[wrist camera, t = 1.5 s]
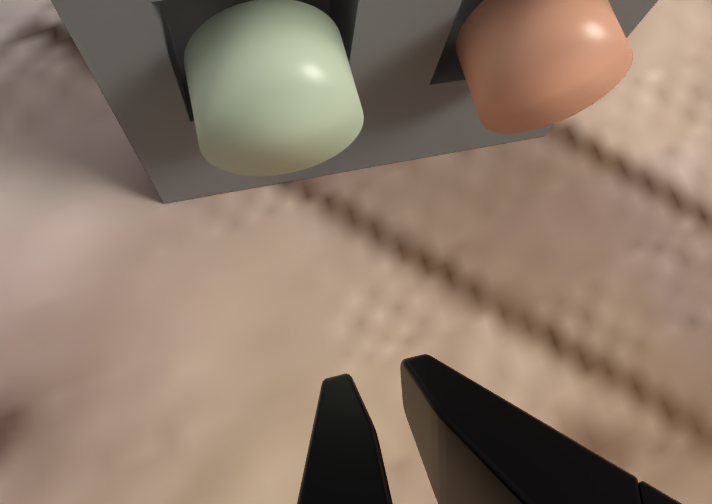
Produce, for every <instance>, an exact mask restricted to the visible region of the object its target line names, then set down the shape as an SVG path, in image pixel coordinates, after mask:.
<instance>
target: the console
mask: <svg viewBox="0 0 712 504" xmlns="http://www.w3.org/2000/svg"><path fill="white" fill-rule="evenodd" d="M51 1H52V3H53V5H54V7H55V9H56V10H57V12H58V14H59V16H60V18H61V19H62V21H63V23H64V25H65V27H66V28H67V30H68V32H69V34H70V36H71V37H72V39H73V41H74V43H75V44H76V46H77V48H78V50H79V52H80V53H81V55H82V57H83V59H84V61H85V62H86V64H87V66H88V68H89V70H90V71H91V73H92V75H93V77H94V79H95V80H96V82H97V84H98V86H99V88H100V89H101V91H102V93H103V95H104V97H105V98H106V100H107V102H108V104H109V106H110V107H111V109H112V111H113V113H114V115H115V116H116V118H117V120H118V122H119V124H120V125H121V127H122V129H123V131H124V133H125V134H126V136H127V138H128V140H129V142H130V143H131V145H132V147H133V149H134V150H135V152H136V154H137V156H138V158H139V159H140V161H141V163H142V165H143V167H144V168H145V170H146V172H147V174H148V176H149V177H150V179H151V181H152V183H153V185H154V186H155V188H156V190H157V192H158V194H159V195H160V197H161V199H162V201H163V203H164V204H166V203H171V202H177V201H183V200H188V199H194V198H199V197H205V196H211V195H216V194H222V193H228V192H233V191H239V190H244V189H250V188H256V187H261V186H267V185H273V184H278V183H284V182H289V181H295V180H301V179H306V178H312V177H318V176H323V175H329V174H334V173H340V172H346V171H351V170H357V169H363V168H368V167H374V166H379V165H385V164H391V163H396V162H402V161H408V160H413V159H419V158H424V157H430V156H436V155H441V154H447V153H453V152H458V151H464V150H469V149H475V148H481V147H486V146H492V145H498V144H503V143H509V142H514V141H520V140H526V139H531V138H537V137H543V136H545V135H546V134H547V132H548V131H549V130H550V129H551V128H552V126H553V125H554V124H555V123H554V124H552V125H549V126H546V127H543V128H540V129H536V130H532V131H527V132H522V133H513V134H502V133H495V132H492V131H490V130H488V129H486V128H485V127H484V126H483V125H482V123H481V120H480V117H479V115H478V112H477V109H476V106H475V104H474V101H473V98H472V95H471V92H470V90H469V87H468V84H467V81H466V79H465V76H464V73H463V70H462V68H461V65H460V62H459V59H458V56H457V53H456V39H457V36H458V33H459V31H460V29H461V27H462V25H463V23H464V22H465V20H466V19H467V17H468V16H469V15H470V14H471V12H472V11H473V10H474V9H475V8H476V7H477V6H478V5H479V4H480V3H481V2H482V1H483V0H295V1H299V2H303V3H306V4H309V5H311V6H314V7H316V8H318V9H319V10H321V11H323V12H324V13H325V14H327V15H328V16H329V17H330V18H331V19H332V20H333V21H334V22H335V24H336V26H337V27H338V29H339V32H340V34H341V38H342V41H343V45H344V48H345V51H346V55H347V58H348V62H349V65H350V69H351V72H352V76H353V79H354V82H355V86H356V89H357V93H358V96H359V100H360V103H361V107H362V110H363V115H364V121H363V126H362V129H361V131H360V133H359V134H358V136H357V137H356V138H355V140H354V141H353V142H352V143H351V144H350V145H349V146H348V147H347V148H345V149H344V150H343V151H342V152H340V153H339V154H337V155H336V156H334V157H332V158H330V159H329V160H327V161H324V162H322V163H320V164H318V165H315V166H313V167H310V168H307V169H304V170H300V171H297V172H292V173H288V174H282V175H274V176H245V175H238V174H233V173H229V172H226V171H223V170H221V169H218V168H216V167H215V166H213V165H211V164H210V163H209V162H208V161H207V160H206V159H205V158H204V157H203V156H202V154H201V151H200V148H199V143H198V137H197V132H196V127H195V121H194V116H193V110H192V105H191V100H190V94H189V89H188V83H187V78H186V73H185V67H184V53H185V48H186V46H187V44H188V41H189V39H190V38H191V36H192V35H193V33H194V32H195V31H196V30H197V29H198V28H199V27H200V26H201V25H202V24H203V23H204V22H205V21H206V20H208V19H209V18H211V17H212V16H214V15H215V14H217V13H219V12H221V11H223V10H225V9H227V8H229V7H232V6H234V5H237V4H241V3H244V2H248V1H253V0H51ZM608 1H609V3H610V5H611V7H612V10H613V12H614V14H615V16H616V18H617V20H618V22H619V24H620V26H621V29H622V31H623V33H624V35H625V37H626V38H627V37H628V36H629V34H630V33H631V32H632V31H633V30H634V28H635V27H636V26H637V25H638V24H639V22H640V21H641V20H642V19H643V18H644V17H645V15H646V14H647V13H648V12H649V11H650V9H651V8H652V7H653V6H654V5H655V3H656V2H657V1H658V0H608Z"/></svg>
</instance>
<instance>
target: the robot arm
mask: <svg viewBox="0 0 712 504" xmlns="http://www.w3.org/2000/svg"><path fill="white" fill-rule="evenodd" d="M400 370H401V384H402V397H403V405H404V410H405V414H406V417H407V420H408V423H409V425H410V428H411V431H412V434H413V436H414V439H415V442H416V445H417V447H418V450H419V453H420V456H421V458H422V461H423V464H424V467H425V469H426V472H427V475H428V478H429V480H430V483H431V486H432V488H433V491H434V494H435V496H436V499H437V502H438V504H681V503H680V502H678V501H676V500H674V499H673V498H671V497H669V496H668V495H666V494H664V493H662V492H661V491H659V490H657V489H656V488H654V487H652V486H651V485H649V484H647V483H645V482H643V481H641V482H639V483H638V480H637V478H636V477H635V476H633V475H631V474H630V473H628V472H626V471H625V470H623V469H621V468H620V467H618V466H616V465H615V464H613V463H611V462H609V461H608V460H606V459H604V458H603V457H601V456H599V455H598V454H596V453H594V452H593V451H591V450H589V449H587V448H586V447H584V446H582V445H581V444H579V443H577V442H576V441H574V440H572V439H571V438H569V437H567V436H565V435H564V434H562V433H560V432H559V431H557V430H555V429H554V428H552V427H550V426H549V425H547V424H545V423H543V422H542V421H540V420H538V419H537V418H535V417H533V416H532V415H530V414H528V413H527V412H525V411H523V410H521V409H520V408H518V407H516V406H515V405H513V404H511V403H510V402H508V401H506V400H505V399H503V398H501V397H499V396H498V395H496V394H494V393H493V392H491V391H489V390H488V389H486V388H484V387H482V386H481V385H479V384H477V383H476V382H474V381H472V380H471V379H469V378H467V377H466V376H464V375H462V374H460V373H459V372H457V371H455V370H454V369H452V368H450V367H449V366H447V365H445V364H444V363H442V362H440V361H438V360H437V359H435V358H433V357H432V356H430V355H427V354H424V355H419V356H415V357H411V358H407V359H404V360H403V361H402V362H401V366H400ZM297 504H393V503H392V499H391V494H390V490H389V485H388V481H387V476H386V472H385V467H384V462H383V458H382V453H381V449H380V444H379V440H378V437H377V433H376V430H375V428H374V425H373V423H372V420H371V418H370V416H369V414H368V411H367V409H366V407H365V405H364V403H363V401H362V398H361V396H360V394H359V392H358V390H357V387H356V385H355V383H354V381H353V379H352V377H351V376H350V375H349V374H342V375H338V376H334V377H330V378H326V379H325V380H324V381H323V382H322V385H321V390H320V395H319V400H318V405H317V410H316V415H315V419H314V424H313V429H312V434H311V439H310V444H309V449H308V453H307V458H306V463H305V468H304V473H303V478H302V482H301V487H300V492H299V497H298V502H297Z"/></svg>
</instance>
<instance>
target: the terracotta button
mask: <svg viewBox="0 0 712 504" xmlns="http://www.w3.org/2000/svg"><path fill="white" fill-rule="evenodd" d="M456 53H457V56H458V59H459V62H460V65H461V68H462V70H463V73H464V76H465V79H466V81H467V84H468V87H469V90H470V92H471V95H472V98H473V101H474V104H475V106H476V109H477V112H478V115H479V117H480V120H481V123H482V125H483V126H484V127H485V128H486V129H488V130H490V131H492V132H495V133H502V134H513V133H522V132H527V131H532V130H536V129H540V128H543V127H546V126H549V125H552V124H554V123H557V122H559V121H562V120H564V119H566V118H568V117H571V116H573V115H575V114H577V113H578V112H580V111H582V110H584V109H586V108H587V107H589V106H590V105H592V104H594V103H595V102H597V101H598V100H599V99H601V98H602V97H603V96H605V95H606V94H607V93H609V92H610V91H611V90H612V89H613V88H614V87H615V86H616V85H617V84H618V83H619V82H620V81H621V80H622V79H623V78H624V76H625V75H626V74H627V72H628V71H629V69H630V67H631V65H632V61H633V53H632V50H631V47H630V45H629V43H628V41H627V39H626V37H625V35H624V33H623V31H622V29H621V26H620V24H619V22H618V20H617V18H616V16H615V14H614V12H613V10H612V7H611V5H610V3H609V1H608V0H483V1H482V2H481V3H480V4H479V5H478V6H477V7H476V8H475V9H474V10H473V11H472V12H471V14H470V15H469V16H468V17H467V19H466V20H465V22H464V23H463V25H462V27H461V29H460V31H459V33H458V36H457V39H456Z"/></svg>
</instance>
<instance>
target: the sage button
mask: <svg viewBox="0 0 712 504" xmlns="http://www.w3.org/2000/svg"><path fill="white" fill-rule="evenodd" d="M184 67H185V73H186V78H187V83H188V89H189V94H190V100H191V105H192V110H193V116H194V121H195V127H196V132H197V137H198V143H199V148H200V151H201V154H202V156H203V157H204V158H205V159H206V160H207V161H208V162H209V163H210V164H211V165H213V166H215V167H216V168H218V169H221V170H223V171H226V172H229V173H233V174H238V175H245V176H274V175H282V174H288V173H292V172H297V171H300V170H304V169H307V168H310V167H313V166H315V165H318V164H320V163H322V162H324V161H327V160H329V159H330V158H332V157H334V156H336V155H337V154H339V153H340V152H342V151H343V150H344V149H345V148H347V147H348V146H349V145H350V144H351V143H352V142H353V141H354V140H355V138H356V137H357V136H358V134H359V133H360V131H361V129H362V126H363V121H364V115H363V110H362V107H361V103H360V100H359V96H358V93H357V89H356V86H355V82H354V79H353V76H352V72H351V69H350V65H349V62H348V58H347V55H346V51H345V48H344V45H343V41H342V38H341V34H340V32H339V29H338V27H337V26H336V24H335V22H334V21H333V20H332V19H331V18H330V17H329V16H328V15H327V14H325V13H324V12H323V11H321V10H319V9H318V8H316V7H314V6H311V5H309V4H306V3H303V2H299V1H295V0H253V1H248V2H244V3H241V4H237V5H234V6H232V7H229V8H227V9H225V10H223V11H221V12H219V13H217V14H215V15H214V16H212V17H211V18H209V19H208V20H206V21H205V22H204V23H203V24H202V25H201V26H200V27H199V28H198V29H197V30H196V31H195V32H194V33H193V35H192V36H191V38H190V39H189V41H188V44H187V46H186V48H185V53H184Z"/></svg>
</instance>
